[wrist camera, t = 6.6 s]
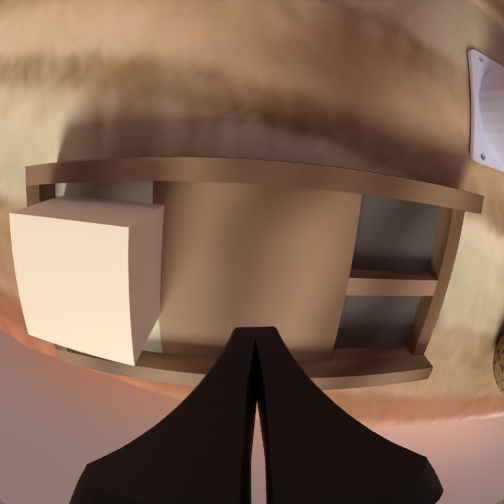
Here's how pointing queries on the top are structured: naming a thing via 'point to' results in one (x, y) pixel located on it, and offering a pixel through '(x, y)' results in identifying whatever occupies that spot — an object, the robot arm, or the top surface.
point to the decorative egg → (499, 364)
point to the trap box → (282, 262)
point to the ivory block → (90, 273)
